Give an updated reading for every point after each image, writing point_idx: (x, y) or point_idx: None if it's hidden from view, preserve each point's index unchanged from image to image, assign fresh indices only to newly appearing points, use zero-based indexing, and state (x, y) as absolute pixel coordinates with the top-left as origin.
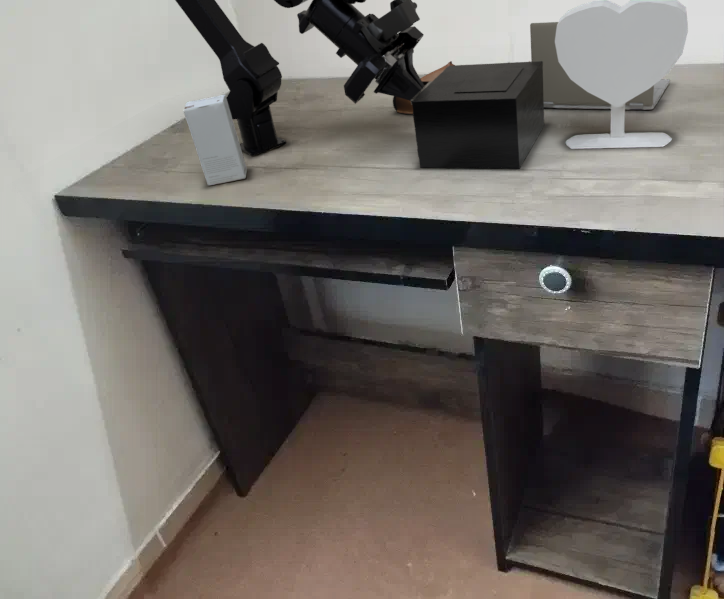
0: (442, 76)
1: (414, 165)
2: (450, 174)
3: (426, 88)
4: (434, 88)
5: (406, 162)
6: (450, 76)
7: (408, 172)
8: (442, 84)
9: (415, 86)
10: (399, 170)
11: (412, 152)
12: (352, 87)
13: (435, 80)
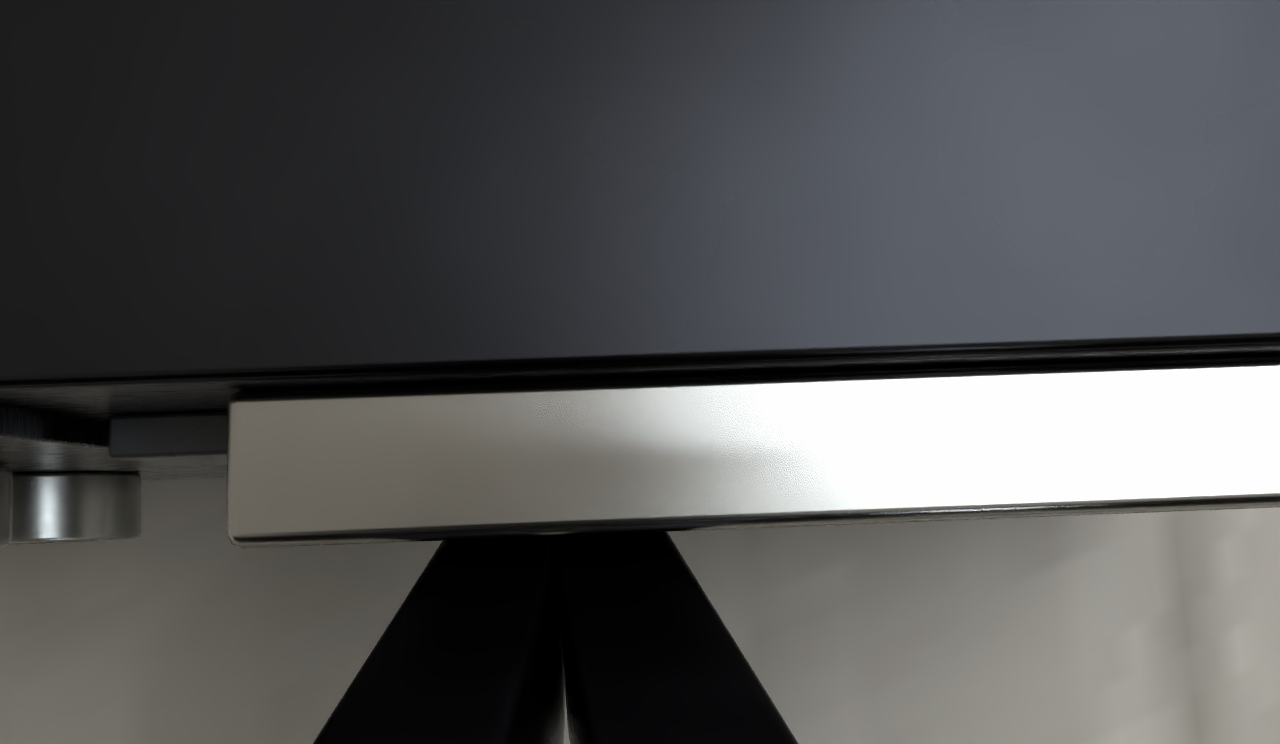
0: (41, 235)
1: (1092, 519)
2: None
3: (1015, 311)
4: (1021, 98)
5: (1026, 643)
6: (84, 7)
7: (1266, 513)
8: (720, 2)
9: (778, 719)
10: (1232, 634)
11: None
12: None
13: (384, 303)
